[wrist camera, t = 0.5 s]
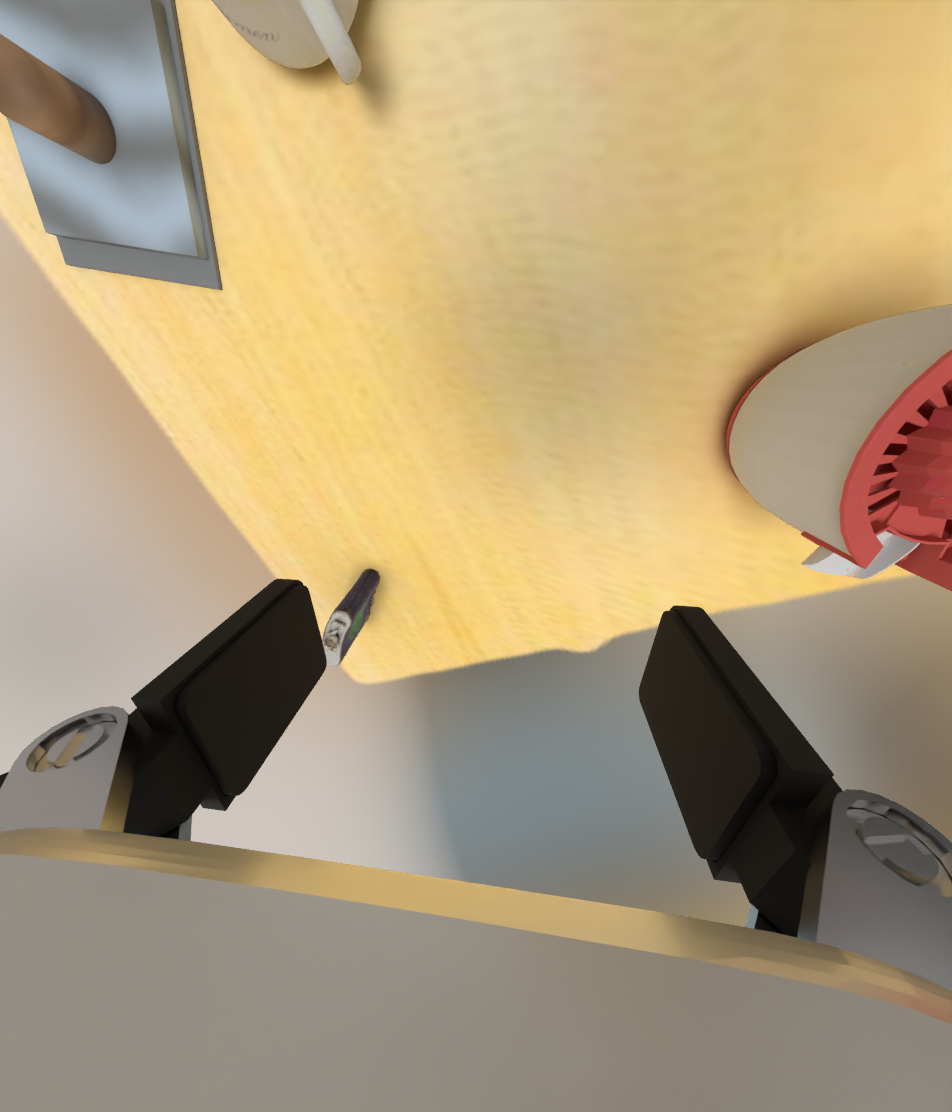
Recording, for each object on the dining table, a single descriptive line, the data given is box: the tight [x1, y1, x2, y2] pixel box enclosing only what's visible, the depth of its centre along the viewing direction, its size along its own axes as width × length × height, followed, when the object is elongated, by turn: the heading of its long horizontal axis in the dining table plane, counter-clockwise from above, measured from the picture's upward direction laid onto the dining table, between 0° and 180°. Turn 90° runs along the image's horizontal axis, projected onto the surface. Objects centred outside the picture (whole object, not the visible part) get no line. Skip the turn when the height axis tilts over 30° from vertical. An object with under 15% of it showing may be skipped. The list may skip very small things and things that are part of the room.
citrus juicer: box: [726, 304, 952, 591], centre depth 23 cm, size 16×17×20 cm
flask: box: [322, 569, 380, 666], centre depth 42 cm, size 9×3×11 cm, turn 158°
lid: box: [0, 0, 209, 261], centre depth 25 cm, size 14×14×6 cm
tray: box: [57, 0, 222, 290], centre depth 28 cm, size 18×15×1 cm
